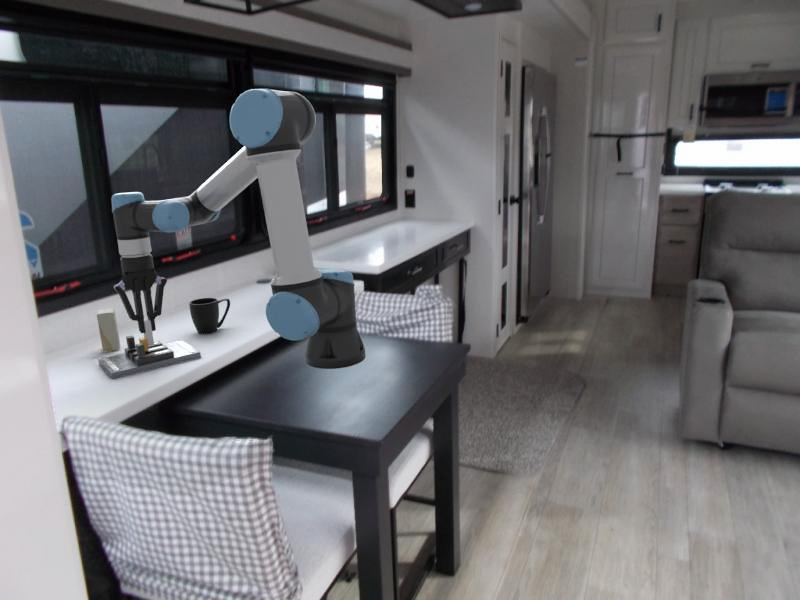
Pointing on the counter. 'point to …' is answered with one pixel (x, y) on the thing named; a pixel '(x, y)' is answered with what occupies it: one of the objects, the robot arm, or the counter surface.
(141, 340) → the breaker handle
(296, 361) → the counter surface
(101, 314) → the box
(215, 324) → the mug
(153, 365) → the panel
